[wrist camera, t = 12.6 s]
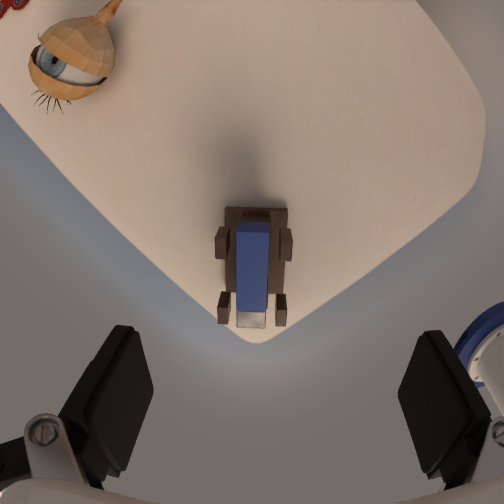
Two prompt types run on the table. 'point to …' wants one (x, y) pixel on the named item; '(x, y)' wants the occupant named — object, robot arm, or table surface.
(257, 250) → the blue eraser block
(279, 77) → the table surface
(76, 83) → the sculpture
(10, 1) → the fidget spinner
